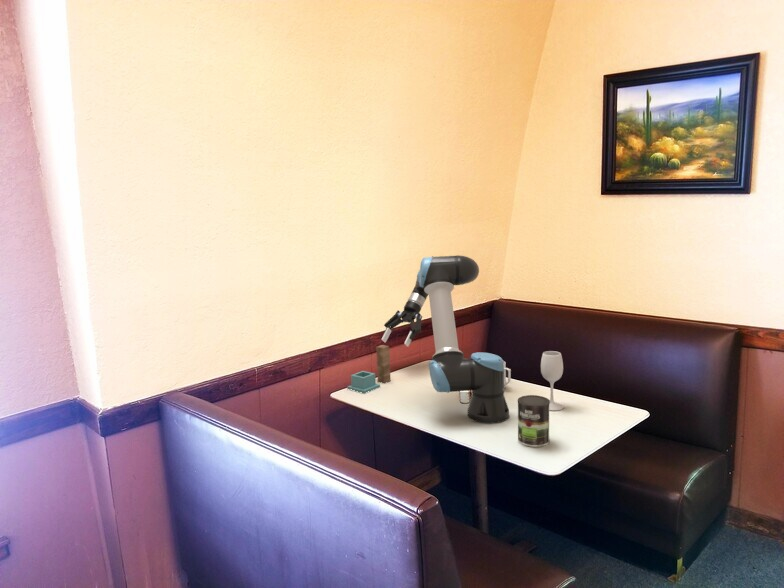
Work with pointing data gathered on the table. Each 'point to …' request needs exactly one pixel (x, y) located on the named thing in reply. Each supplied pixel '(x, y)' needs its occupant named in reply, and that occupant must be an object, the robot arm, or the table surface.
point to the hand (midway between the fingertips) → (394, 343)
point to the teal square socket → (363, 382)
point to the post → (383, 363)
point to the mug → (505, 374)
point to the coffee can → (533, 420)
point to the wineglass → (552, 373)
